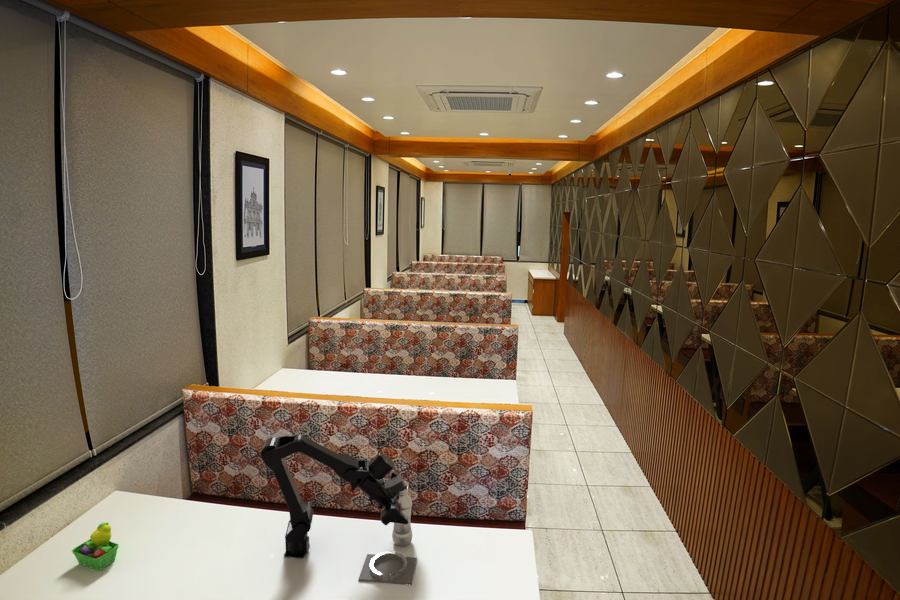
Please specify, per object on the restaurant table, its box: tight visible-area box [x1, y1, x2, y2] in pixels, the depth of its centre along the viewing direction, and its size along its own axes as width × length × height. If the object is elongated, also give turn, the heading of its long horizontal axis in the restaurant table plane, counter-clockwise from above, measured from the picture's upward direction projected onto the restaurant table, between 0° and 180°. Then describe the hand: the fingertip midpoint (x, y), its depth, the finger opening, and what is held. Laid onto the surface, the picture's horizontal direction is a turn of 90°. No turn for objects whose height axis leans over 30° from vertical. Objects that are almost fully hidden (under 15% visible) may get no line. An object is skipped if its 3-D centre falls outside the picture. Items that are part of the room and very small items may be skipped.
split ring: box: [370, 550, 407, 581], centre depth 163 cm, size 11×11×2 cm
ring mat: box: [358, 553, 418, 586], centre depth 164 cm, size 16×12×1 cm
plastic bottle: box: [391, 484, 413, 547], centre depth 175 cm, size 6×7×20 cm
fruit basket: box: [71, 522, 120, 571], centre depth 164 cm, size 11×9×11 cm
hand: (406, 516), depth 175 cm, fingers open, 8 cm apart
